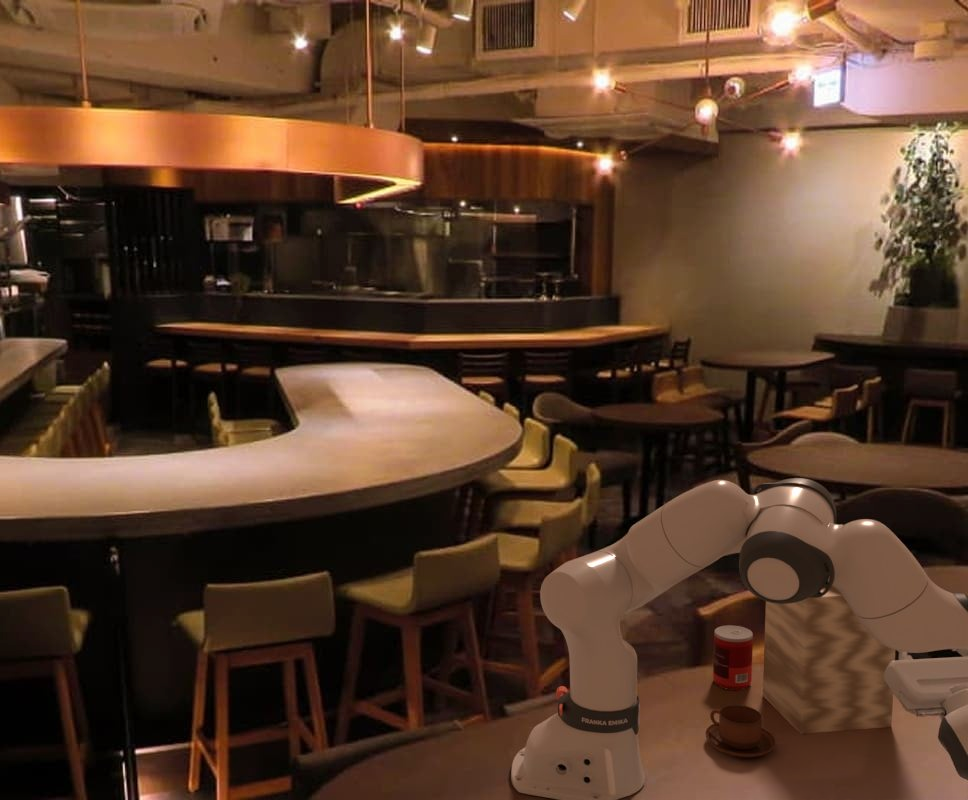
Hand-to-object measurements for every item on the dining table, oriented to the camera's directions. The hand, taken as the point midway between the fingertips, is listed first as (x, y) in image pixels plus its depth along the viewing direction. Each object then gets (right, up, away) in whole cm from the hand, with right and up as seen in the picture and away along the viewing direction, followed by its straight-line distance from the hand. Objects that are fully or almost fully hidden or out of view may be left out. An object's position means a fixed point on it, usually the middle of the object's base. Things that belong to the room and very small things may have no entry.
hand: (926, 639), depth 152 cm
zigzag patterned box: (-7, -21, +26) cm, 34 cm away
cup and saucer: (-27, -23, +13) cm, 38 cm away
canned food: (-22, -19, +39) cm, 49 cm away
